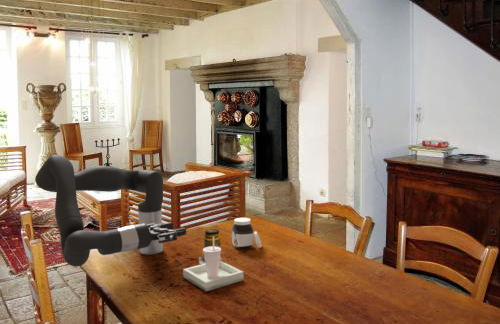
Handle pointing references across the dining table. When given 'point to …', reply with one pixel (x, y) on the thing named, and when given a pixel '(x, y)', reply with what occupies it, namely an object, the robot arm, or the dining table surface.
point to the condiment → (210, 241)
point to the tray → (224, 278)
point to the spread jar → (244, 234)
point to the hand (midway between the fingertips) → (179, 228)
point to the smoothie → (212, 260)
